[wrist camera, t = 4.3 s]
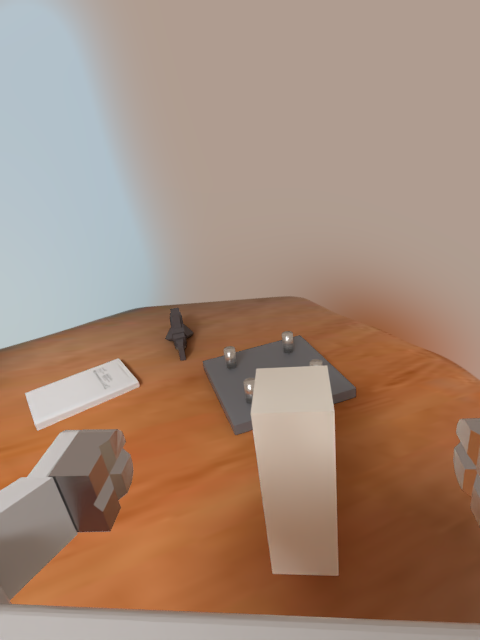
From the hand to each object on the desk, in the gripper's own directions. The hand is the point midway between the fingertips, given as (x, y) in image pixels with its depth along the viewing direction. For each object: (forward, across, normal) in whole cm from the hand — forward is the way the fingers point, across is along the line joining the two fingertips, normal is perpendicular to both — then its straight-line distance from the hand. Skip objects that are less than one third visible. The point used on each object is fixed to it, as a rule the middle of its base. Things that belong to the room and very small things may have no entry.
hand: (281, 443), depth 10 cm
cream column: (+12, 0, +21) cm, 24 cm away
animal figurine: (+45, +18, +21) cm, 53 cm away
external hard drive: (+33, +28, +21) cm, 48 cm away
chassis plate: (+33, +3, +21) cm, 39 cm away
